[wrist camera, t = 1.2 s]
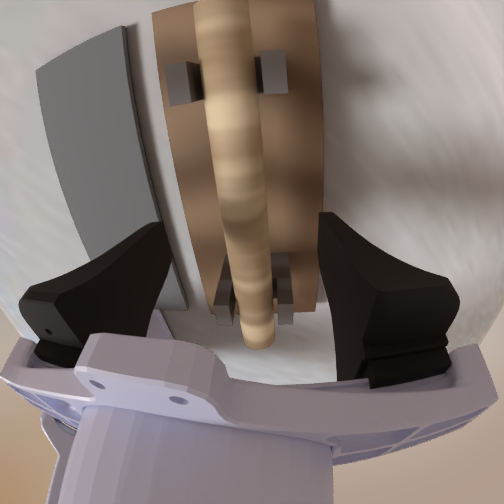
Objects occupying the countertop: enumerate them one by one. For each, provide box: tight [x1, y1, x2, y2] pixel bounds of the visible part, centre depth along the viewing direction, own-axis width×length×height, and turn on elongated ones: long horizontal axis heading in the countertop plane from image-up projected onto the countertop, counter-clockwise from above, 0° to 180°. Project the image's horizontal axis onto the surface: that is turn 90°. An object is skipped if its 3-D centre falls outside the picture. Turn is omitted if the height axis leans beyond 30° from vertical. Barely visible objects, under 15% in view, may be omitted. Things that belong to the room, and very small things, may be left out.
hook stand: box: [152, 0, 324, 325], centre depth 16 cm, size 26×10×6 cm, turn 5°
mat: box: [36, 26, 189, 311], centre depth 20 cm, size 26×9×1 cm, turn 5°
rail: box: [193, 0, 275, 349], centre depth 14 cm, size 22×2×2 cm, turn 5°
